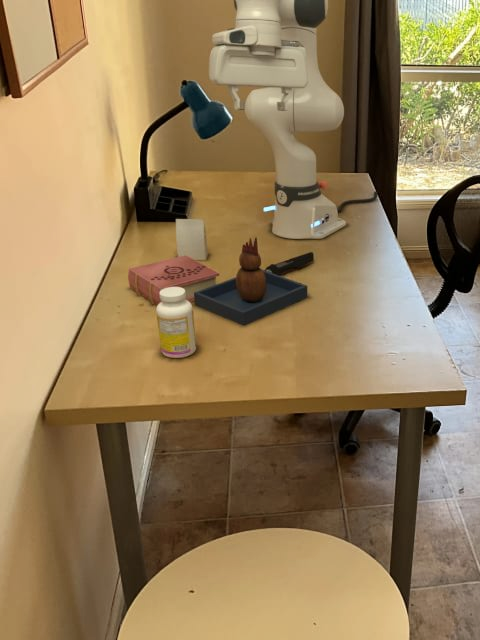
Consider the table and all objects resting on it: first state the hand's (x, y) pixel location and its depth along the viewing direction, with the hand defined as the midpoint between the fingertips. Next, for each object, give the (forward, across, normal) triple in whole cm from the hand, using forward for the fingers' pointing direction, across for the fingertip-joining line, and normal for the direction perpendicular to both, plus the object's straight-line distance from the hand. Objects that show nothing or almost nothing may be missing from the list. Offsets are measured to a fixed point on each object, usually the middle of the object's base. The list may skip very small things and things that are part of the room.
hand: (261, 110), depth 153 cm
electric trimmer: (+38, -14, -18) cm, 45 cm away
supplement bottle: (+46, +23, +10) cm, 52 cm away
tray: (+41, +1, -5) cm, 42 cm away
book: (+40, +15, -18) cm, 47 cm away
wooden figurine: (+41, +1, -5) cm, 41 cm away
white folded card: (+37, +4, -37) cm, 52 cm away
